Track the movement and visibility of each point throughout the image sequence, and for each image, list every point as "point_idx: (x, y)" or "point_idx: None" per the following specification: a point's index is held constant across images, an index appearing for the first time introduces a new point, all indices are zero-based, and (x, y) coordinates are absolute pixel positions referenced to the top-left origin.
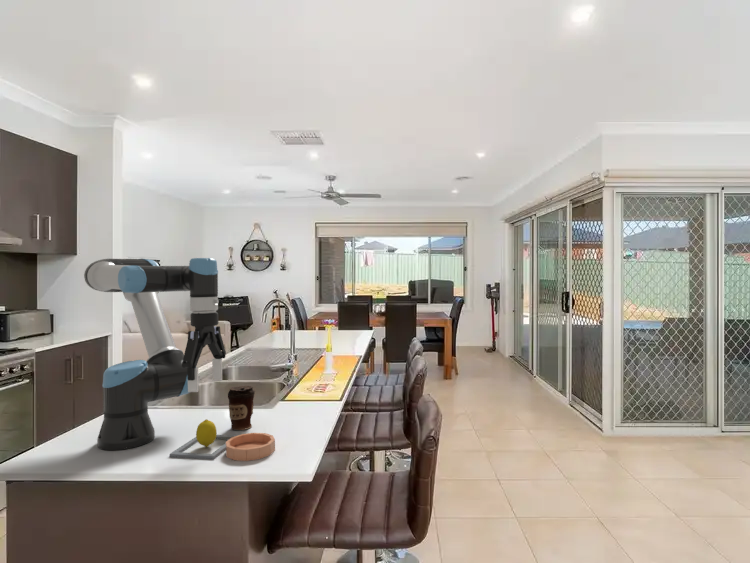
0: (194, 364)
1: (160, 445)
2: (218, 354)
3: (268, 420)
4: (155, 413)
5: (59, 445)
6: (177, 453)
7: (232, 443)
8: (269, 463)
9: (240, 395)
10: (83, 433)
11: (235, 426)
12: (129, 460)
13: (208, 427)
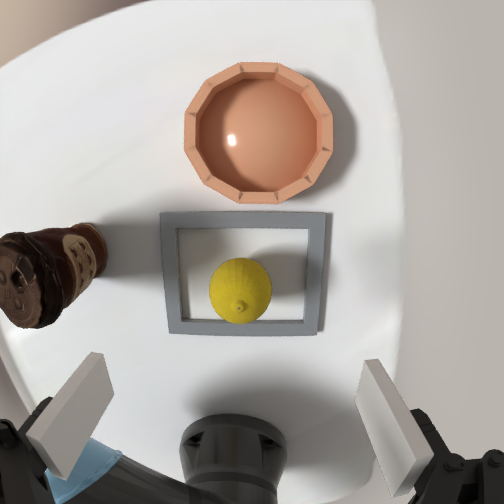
0: (462, 472)
1: (245, 387)
2: (33, 476)
3: (30, 202)
4: None
5: None
6: (313, 319)
7: (255, 191)
8: (329, 61)
9: (49, 267)
10: None
11: (103, 259)
12: (334, 393)
13: (259, 282)
